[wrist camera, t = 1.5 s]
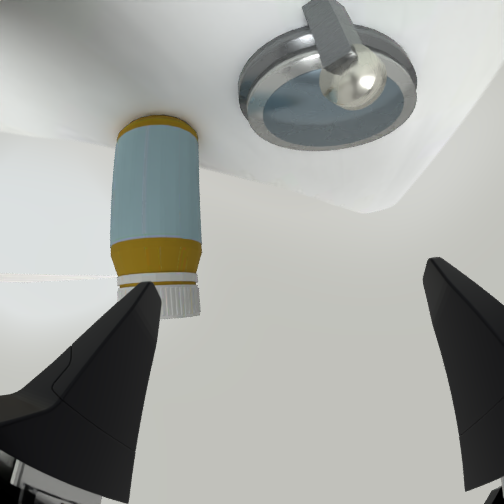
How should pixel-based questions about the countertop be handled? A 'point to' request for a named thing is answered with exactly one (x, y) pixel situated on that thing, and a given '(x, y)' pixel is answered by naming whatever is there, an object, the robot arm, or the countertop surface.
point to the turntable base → (332, 56)
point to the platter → (323, 105)
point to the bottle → (157, 212)
